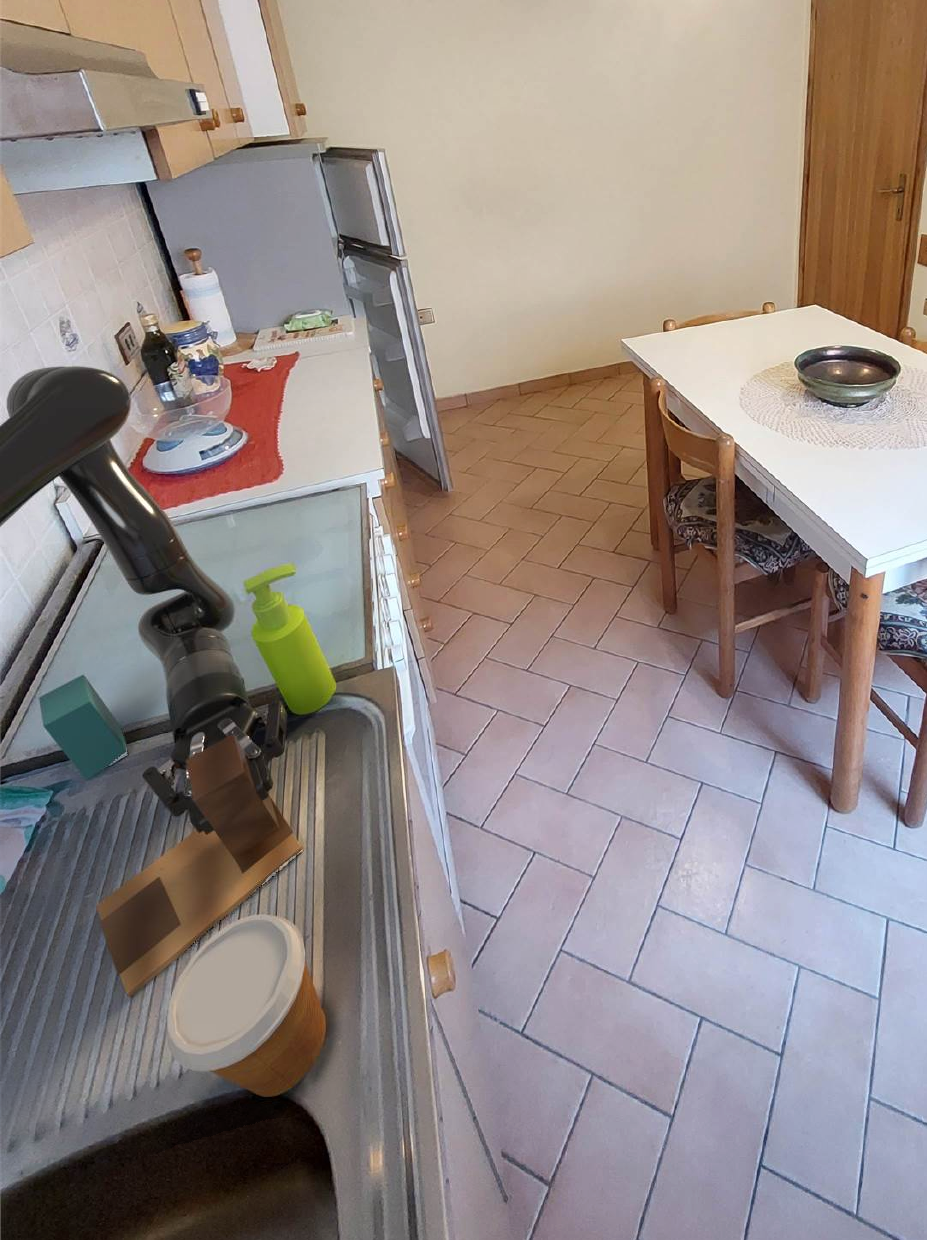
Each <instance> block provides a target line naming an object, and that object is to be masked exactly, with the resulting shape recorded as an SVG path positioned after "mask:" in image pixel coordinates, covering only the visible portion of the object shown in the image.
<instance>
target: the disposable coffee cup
mask: <svg viewBox="0 0 927 1240" xmlns="http://www.w3.org/2000/svg"><path fill="white" fill-rule="evenodd" d="M303 938H304V937H303V936H302V934H301V932H300V930H299V928H298V927H297V926H296V925H295V924H294V923H293V922H292V921H291V920H288V919H287V918H286V917H284V916H278V915H273V914H272V915H270V914H254V915H253V914H252V915H249V916H246V917H243V918H240V919H237V920H235V921H233V922H231V923H229V924H228V925H226V926H224V927H223V928H222V929H220V930H219V931H217V932H216V933H215V934H214V935H212V936H211V937H210V938H209V939H208V940H207V941H206V942H204V943H203V944H202V946H201V947H200V948H198V950H197V951H196V952H195V953H194V955H192V956H191V958H190V959H189V961H188V963H187V964H186V966H185V967H184V969H183V971H182V972H181V974H180V976H179V977H178V978H177V981H176V983H175V985H174V988H173V990H172V992H171V996H170V999H169V1001H168V1006H167V1007H168V1008H167V1015H166V1041H167V1046H168V1047H167V1048H168V1049H169V1052H170V1054H171V1056H172V1057H173V1059H174V1060H175V1061H176V1062H177V1063H178V1064H179V1065H180V1066H181V1067H184V1068H186V1069H189V1070H190V1071H193V1072H203V1073H204V1072H209V1073H212V1074H214V1075H217V1076H219V1077H221V1078H223V1079H225V1080H227V1081H229V1082H231V1083H233V1084H235V1085H237V1086H240V1087H241V1088H244V1089H245V1090H248V1091H249V1092H251V1093H254V1094H255V1095H256V1096H260V1097H264V1098H267V1097H276V1096H279V1095H281V1094H283V1093H286V1092H287V1091H289V1090H290V1089H292V1088H293V1087H295V1086H296V1085H297V1084H298V1083H299V1082H300V1081H301V1080H302V1079H303V1078H304V1077H305V1076H306V1075H307V1074H308V1072H310V1070H311V1068H312V1067H313V1065H314V1064H315V1062H316V1060H317V1058H318V1056H319V1054H320V1052H321V1050H322V1047H323V1044H324V1042H325V1037H326V1036H325V1035H326V1031H327V1030H326V1029H327V1028H326V1027H327V1026H326V1025H327V1021H326V1015H325V1012H324V1010H323V1007H322V1005H321V1002H320V998H319V996H318V993H317V990H316V987H315V984H314V982H313V979H312V976H311V973H310V970H309V968H308V965H307V963H306V949H305V944H304V939H303Z"/></svg>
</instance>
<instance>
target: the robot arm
mask: <svg viewBox="0 0 927 1240" xmlns="http://www.w3.org/2000/svg"><path fill="white" fill-rule="evenodd" d="M131 408H132V398H131V393H130V391H129V388H128V387H127V385H126V384H125V382H124V381H123V380H122V379H121V378H120V377H118V376H117V375H116V374H113V373H111V372H110V371H107V370H103V369H100V368H96V367H90V366H80V365H79V366H78V365H74V366H73V365H72V366H49V367H47V366H46V367H42V368H41V367H40V368H38V369H33V370H30V371H29V372H27V373H25V374H24V375H22V376H20V377H19V378H18V379H17V380H16V381H15V382H14V383H13V384H12V386H11V388H10V390H9V391H8V394H7V397H6V410H7V411H6V412H7V414H8V417H9V418H8V419H6V420H5V421H4V422H2V424H1V425H0V528H1V527H2V526H4V525H5V524H6V523H7V521H8V520H10V519H11V518H12V517H13V516H14V515H15V514H16V513H17V512H18V511H19V510H20V509H21V508H22V507H23V506H24V505H26V504H27V503H28V502H29V501H30V500H31V499H32V498H33V497H34V496H36V495H37V494H38V493H39V492H40V491H42V490H43V489H44V488H45V487H46V486H48V485H49V484H51V483H52V482H53V481H54V480H55V479H57V478H58V477H59V478H60V479H61V481H62V482H63V483H64V484H65V486H66V487H67V489H68V490H69V491H70V493H71V494H72V495H73V497H74V499H76V501H77V502H78V504H79V505H80V506H81V508H82V510H83V511H84V513H85V514H86V516H87V517H88V519H89V521H90V522H91V524H92V525H93V527H94V528H95V529H96V532H97V533H98V535H99V536H100V538H101V539H102V541H103V543H104V545H105V546H106V548H107V550H108V552H109V553H110V555H111V557H112V558H113V560H114V562H115V564H116V565H117V567H118V569H119V570H120V572H121V574H122V575H123V577H124V579H125V581H126V582H127V584H128V585H129V587H130V588H131V590H132V592H134V593H136V594H138V595H140V596H150V595H156V594H160V593H164V592H169V591H176V590H178V591H179V590H180V591H183V592H181V593H179V594H176V595H174V596H172V597H170V598H168V599H166V600H164V601H160V602H159V603H157V604H154V605H153V606H151V607H149V608H148V609H147V610H146V611H144V613H143V614H142V615H141V616H140V619H139V621H138V626H137V629H138V630H137V632H138V635H139V638H140V640H141V641H142V644H143V645H144V646H145V647H146V648H147V650H148V651H149V652H150V653H151V654H152V655H153V656H154V657H155V658H157V660H159V662H160V664H161V666H162V669H163V674H164V679H165V685H166V690H165V691H166V692H165V697H166V704H167V711H168V716H169V722H170V727H171V732H172V737H173V742H174V747H173V749H172V751H171V755H170V759H168V760H167V761H166V762H165V763H164V764H162V765H161V766H160V767H158V768H156V767H155V766H150V767H148V768H146V769H145V770H144V771H143V772H142V775H141V776H142V778H143V779H144V781H145V783H147V785H148V786H149V787H150V789H151V790H152V791H153V793H154V794H155V795H156V796H157V798H158V799H159V800H160V802H161V803H162V804H163V805H164V806H165V808H166V809H167V810H168V812H170V814H171V815H172V816H173V817H175V818H176V817H177V818H178V817H180V816H182V815H183V814H184V813H185V812H186V811H188V817H189V822H190V824H191V826H192V827H193V828H194V829H195V831H197V832H199V833H201V832H202V831H204V832H205V834H206V835H208V834H209V833H211V832H212V831H214V829H213V828H212V826H211V825H210V823H209V822H208V821H207V820H206V818H205V817H204V815H203V814H202V812H201V811H200V810H199V808H198V807H197V805H196V804H195V802H194V800H193V795H192V790H191V785H190V779H189V774H188V769H187V764H186V760H187V759H189V758H190V757H192V756H194V755H196V754H198V753H199V752H201V751H203V750H205V749H207V748H208V747H210V746H212V745H214V744H215V743H217V742H219V741H221V740H223V739H224V738H226V737H228V736H230V735H231V734H234V735H235V737H236V738H237V740H238V742H239V743H240V745H241V747H242V748H243V750H244V753H245V755H246V757H247V758H248V759H249V761H250V762H249V763H248V766H249V770H250V773H251V777H252V780H253V784H254V787H255V790H256V793H257V794H258V796H259V798H260V799H261V801H263V800H264V799H266V798H268V797H269V795H270V793H269V794H268V792H269V791H271V790H272V789H274V788H273V787H274V781H273V778H272V775H271V772H270V769H269V764H270V763H271V761H272V760H273V759H274V758H276V759H277V758H279V757H281V756H282V755H283V754H284V753H285V751H286V749H285V748H286V737H287V724H288V713H287V711H286V709H285V707H284V704H283V703H282V701H281V699H280V698H278V697H277V698H276V697H275V698H273V699H271V700H270V701H269V702H268V705H267V707H264V708H262V709H259V710H257V709H256V708H255V707H252V706H251V703H250V699H249V696H248V692H247V690H246V686H245V684H246V683H245V679H244V678H243V676H242V673H241V671H240V668H239V666H238V665H237V664H236V662H235V660H234V657H233V654H232V651H231V647H230V643H229V641H228V638H227V637H226V635H225V633H223V632H224V631H225V630H227V629H228V628H229V627H230V626H231V625H232V624H233V621H234V618H235V614H236V608H235V603H234V601H233V599H232V597H231V596H230V594H229V593H228V592H227V591H226V590H225V589H224V588H223V587H222V586H221V585H220V584H218V583H217V582H216V581H215V580H214V579H213V578H212V577H210V575H208V574H207V573H206V572H205V571H204V570H203V569H202V568H201V567H200V566H199V565H198V564H197V563H196V561H195V560H194V559H193V558H192V556H191V555H190V553H189V550H188V549H187V548H186V545H185V544H184V542H183V540H182V538H181V536H180V534H179V532H178V531H177V529H176V527H175V525H174V524H173V522H172V520H171V519H170V517H169V516H168V514H167V513H166V512H165V511H164V508H162V507H161V506H160V504H159V503H158V502H157V501H156V500H155V498H154V497H153V496H152V495H151V494H150V493H149V492H148V490H146V488H145V487H144V486H143V485H142V484H141V483H140V482H139V481H138V480H137V478H136V477H135V476H134V475H133V474H132V472H130V470H129V469H128V467H127V466H126V465H125V463H124V461H123V460H122V458H121V457H120V455H119V454H118V452H117V451H116V449H115V447H114V444H113V443H112V440H111V439H112V438H113V437H115V436H116V435H117V434H118V433H119V432H120V431H121V430H122V428H123V426H124V425H125V424H126V422H127V420H128V418H129V416H130V413H131ZM261 723H263V724H264V726H265V732H264V742H263V743H262V744H261V745H260V746H259V745H257V744H255V742H254V741H252V740H253V738H254V737H255V735H256V733H257V731H258V729H259V727H260V724H261ZM177 770H182V771H185V775H186V780H185V785H184V790H181V791H179V792H176V790H175V789H174V788H173V786H174V784H175V782H174V781H175V779H176V776H175V773H176V771H177Z"/></svg>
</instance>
